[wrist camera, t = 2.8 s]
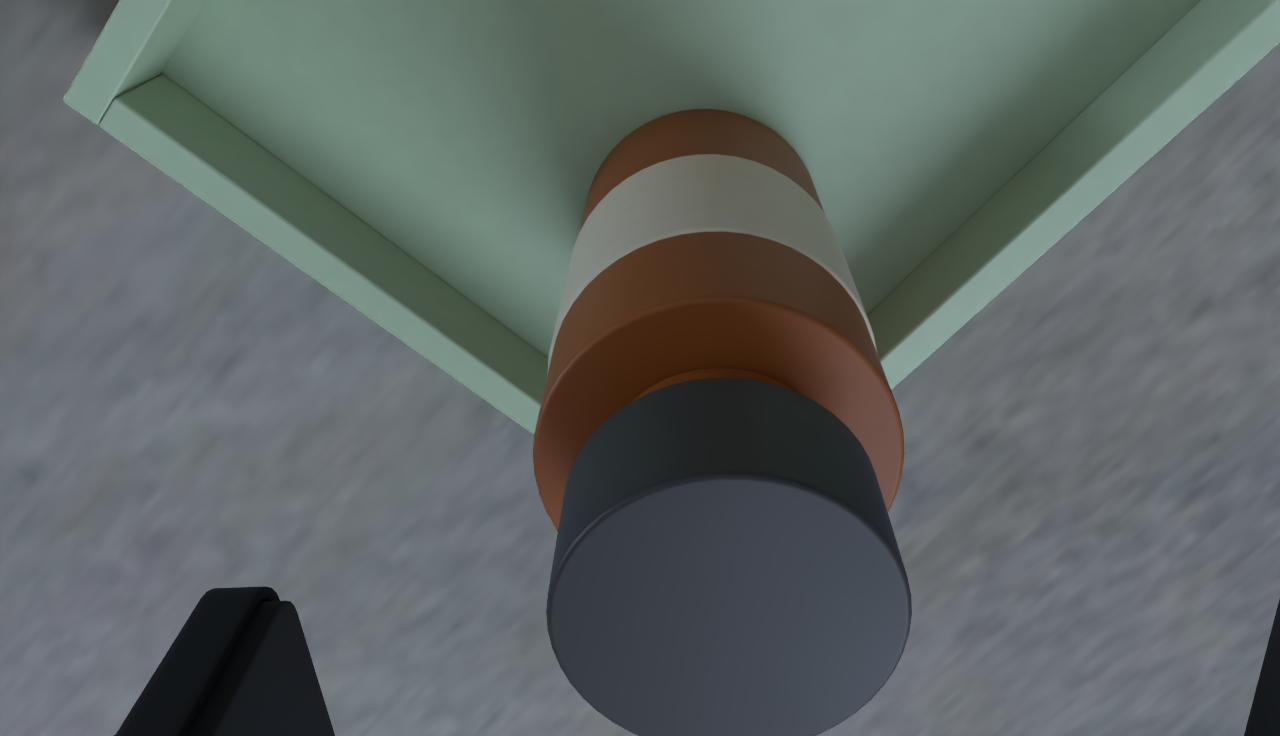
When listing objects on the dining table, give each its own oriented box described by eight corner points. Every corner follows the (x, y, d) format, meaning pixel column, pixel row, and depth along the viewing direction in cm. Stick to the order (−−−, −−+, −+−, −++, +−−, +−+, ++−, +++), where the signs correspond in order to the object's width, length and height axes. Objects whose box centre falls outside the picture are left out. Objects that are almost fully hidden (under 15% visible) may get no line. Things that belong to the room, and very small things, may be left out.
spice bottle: (534, 236, 22) (400, 641, 11) (691, 52, 20) (711, 327, 9) (710, 372, 23) (740, 849, 12) (871, 212, 21) (1068, 611, 11)
